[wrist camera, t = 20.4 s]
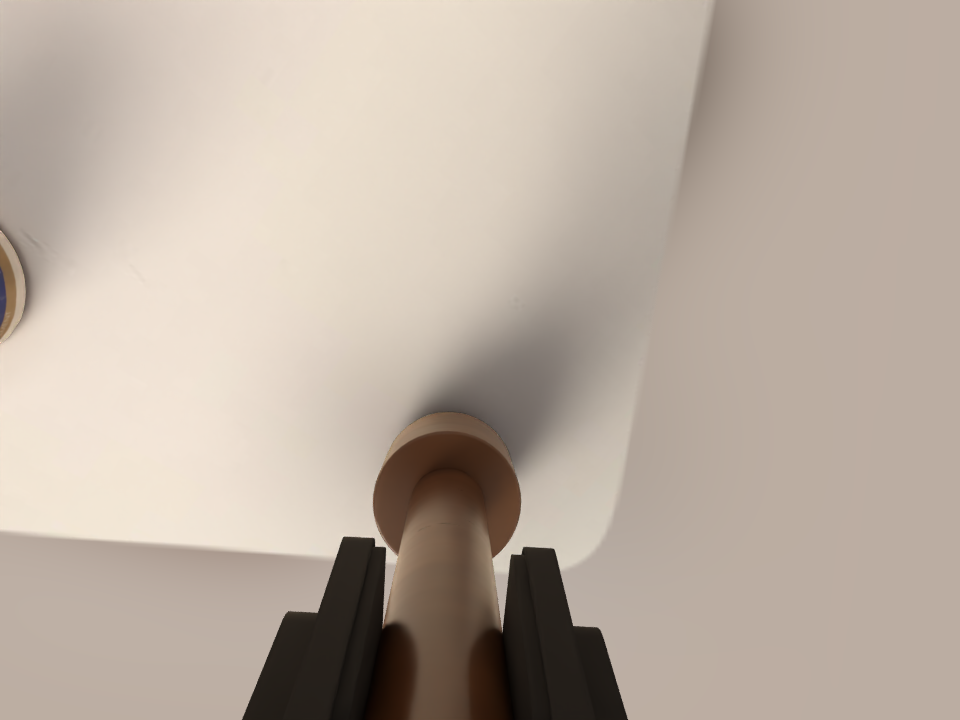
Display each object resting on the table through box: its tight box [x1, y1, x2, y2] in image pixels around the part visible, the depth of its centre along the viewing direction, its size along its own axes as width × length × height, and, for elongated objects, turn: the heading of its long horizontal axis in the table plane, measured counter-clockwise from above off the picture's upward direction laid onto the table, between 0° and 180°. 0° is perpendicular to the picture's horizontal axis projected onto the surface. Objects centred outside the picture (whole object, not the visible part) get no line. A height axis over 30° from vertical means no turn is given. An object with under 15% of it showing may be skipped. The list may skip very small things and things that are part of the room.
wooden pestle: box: [363, 412, 521, 720], centre depth 14 cm, size 4×4×16 cm
